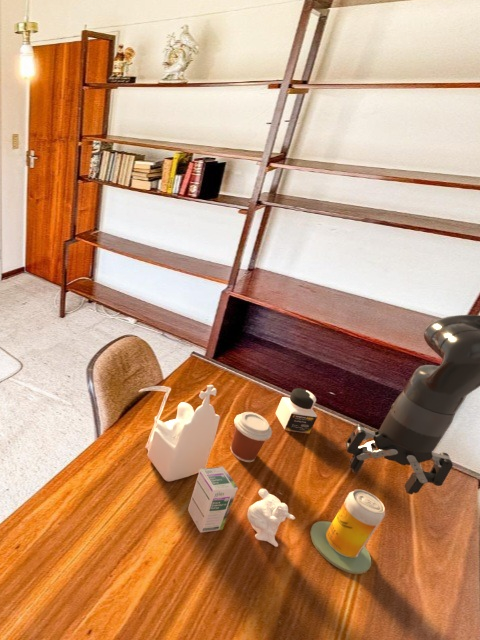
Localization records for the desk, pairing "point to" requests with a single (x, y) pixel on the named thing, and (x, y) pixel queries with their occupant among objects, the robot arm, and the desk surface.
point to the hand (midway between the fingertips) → (380, 479)
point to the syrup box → (212, 499)
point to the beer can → (355, 523)
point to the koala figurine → (267, 516)
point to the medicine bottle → (297, 411)
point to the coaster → (342, 562)
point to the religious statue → (183, 437)
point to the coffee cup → (249, 435)
